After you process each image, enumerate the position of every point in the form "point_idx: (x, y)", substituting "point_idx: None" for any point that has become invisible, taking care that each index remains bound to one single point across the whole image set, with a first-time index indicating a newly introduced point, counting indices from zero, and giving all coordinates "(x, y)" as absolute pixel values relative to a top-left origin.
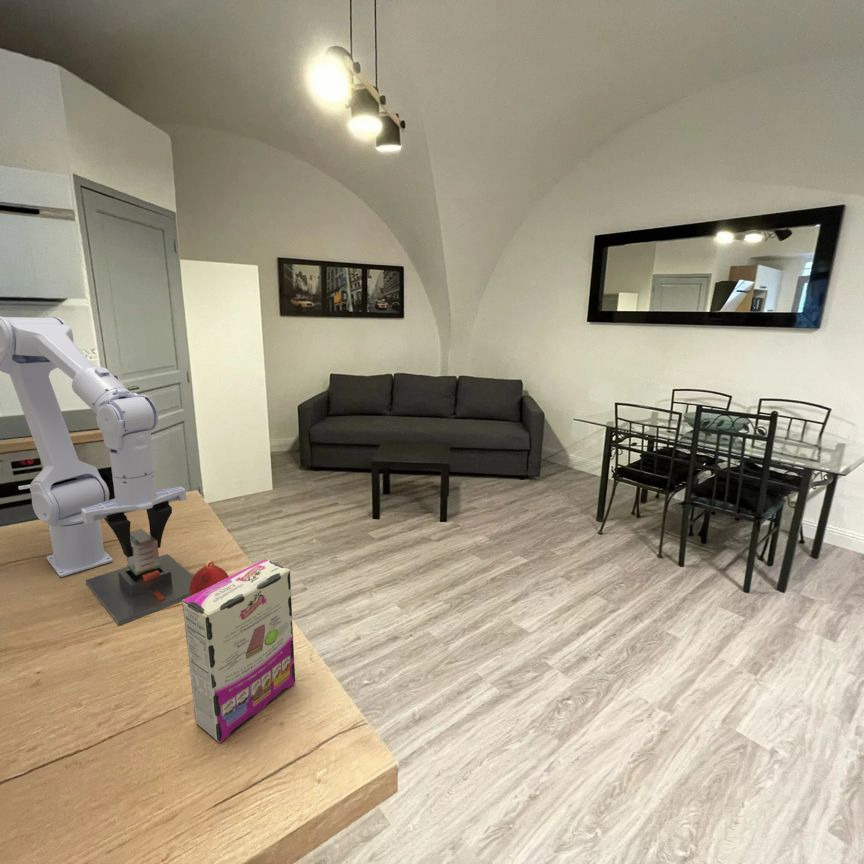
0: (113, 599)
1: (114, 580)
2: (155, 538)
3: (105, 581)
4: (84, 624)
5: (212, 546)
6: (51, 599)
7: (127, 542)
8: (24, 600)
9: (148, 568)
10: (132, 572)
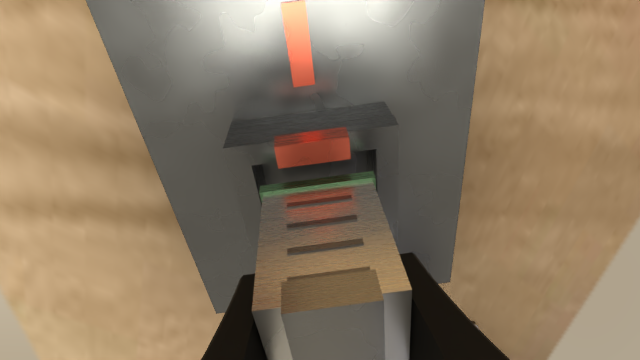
0: (437, 131)
1: None
2: (257, 333)
3: (413, 251)
4: (551, 45)
5: (69, 305)
6: (535, 243)
7: (452, 330)
8: (575, 268)
9: (315, 186)
10: None
